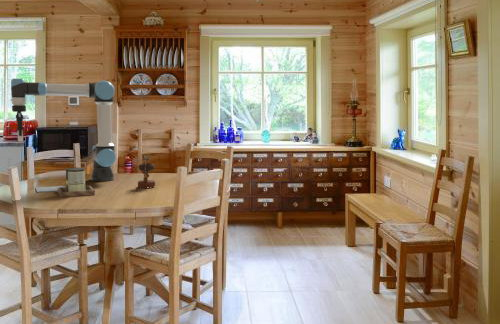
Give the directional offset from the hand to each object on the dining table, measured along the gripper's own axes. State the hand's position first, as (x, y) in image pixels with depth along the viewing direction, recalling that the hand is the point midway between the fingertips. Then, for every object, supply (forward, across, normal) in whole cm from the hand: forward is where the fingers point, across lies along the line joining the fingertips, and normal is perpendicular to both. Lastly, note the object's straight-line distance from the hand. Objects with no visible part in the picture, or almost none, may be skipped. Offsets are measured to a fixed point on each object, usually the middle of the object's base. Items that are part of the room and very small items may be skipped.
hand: (20, 140), depth 305 cm
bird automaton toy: (+28, +27, +69) cm, 79 cm away
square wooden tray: (+28, +34, +27) cm, 52 cm away
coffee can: (+28, +34, +27) cm, 52 cm away
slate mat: (+28, +16, +15) cm, 36 cm away
